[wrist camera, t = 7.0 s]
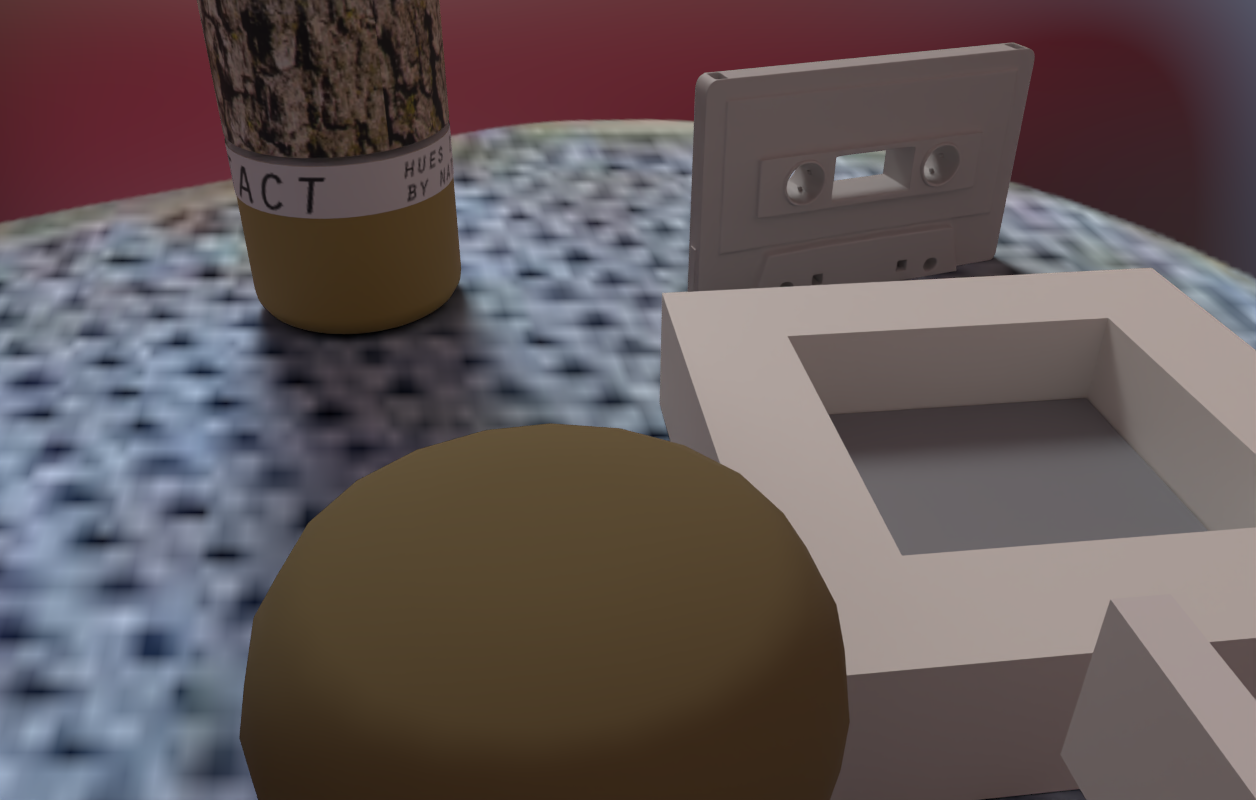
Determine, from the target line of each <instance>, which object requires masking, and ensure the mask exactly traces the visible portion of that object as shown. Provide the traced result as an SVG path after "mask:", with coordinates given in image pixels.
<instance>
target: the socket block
mask: <svg viewBox="0 0 1256 800" xmlns="http://www.w3.org/2000/svg"><path fill="white" fill-rule="evenodd" d="M660 406H661V410H662V413H663V417H664V421H665V424H666V428H667V431H668V435H669V438H670V442H674V443H678V444H681V445H685V446H687V447H689V448H691V449H693V450H695V451H697V452H699V453H700V454H702V455H704V456H706V457H708V458H710V459H712V460H714V461H716V462H718V463H720V464H722V465H724V466H726V467H728V468H730V469H732V470H734V471H736V472H738V473H740V474H741V475H742V476H743V477H744V478H746V479H747V480H748V481H749V482H750V483H751V484H752V485H753V486H754V487H755V488H756V489H758V490H759V491H760V492H761V493H762V494H763V495H764V496H765V497H766V498H767V499H769V500H770V501H771V502H772V503H773V504H774V505H775V506H776V507H777V508H778V509H780V510H781V511H782V512H783V513H784V515H785V516H786V518H787V519H788V521H789V522H790V523H791V525H792V526H793V528H794V529H795V531H796V532H797V534H798V535H799V537H800V538H801V540H802V541H803V543H804V544H805V546H806V547H807V549H808V551H809V553H810V555H811V557H812V559H813V560H814V562H815V564H816V566H817V568H818V570H819V572H820V574H821V576H822V578H823V580H824V582H825V583H826V585H827V587H828V589H829V591H830V593H831V595H832V597H833V599H834V601H835V603H836V605H837V610H838V615H839V621H840V626H841V632H842V637H843V643H844V649H845V660H846V674H847V689H848V704H849V719H850V723H849V729H848V734H847V739H846V745H845V750H844V756H843V761H842V766H841V771H840V774H839V776H838V779H837V782H836V785H835V787H834V790H833V793H832V796H831V798H830V800H980V799H990V798H999V797H1009V796H1018V795H1028V794H1037V793H1046V792H1056V791H1065V790H1075V789H1080V788H1079V786H1078V785H1077V783H1076V781H1075V779H1074V778H1073V776H1072V774H1071V772H1070V771H1069V769H1068V767H1067V765H1066V764H1065V762H1064V760H1063V758H1062V756H1061V755H1060V754H1061V751H1062V748H1063V745H1064V742H1065V739H1066V736H1067V733H1068V729H1069V726H1070V723H1071V720H1072V717H1073V714H1074V711H1075V708H1076V705H1077V701H1078V698H1079V695H1080V692H1081V689H1082V686H1083V683H1084V680H1085V676H1086V673H1087V670H1088V667H1089V664H1090V661H1091V658H1092V655H1093V651H1094V648H1095V645H1096V642H1097V639H1098V636H1099V633H1100V630H1101V626H1102V623H1103V620H1104V617H1105V614H1106V611H1107V608H1108V605H1109V602H1110V599H1116V598H1128V597H1140V596H1152V595H1164V594H1171V595H1172V596H1173V598H1174V599H1175V600H1176V601H1177V603H1178V604H1179V605H1180V606H1181V608H1182V609H1183V610H1184V611H1185V613H1186V614H1187V615H1188V616H1189V618H1190V619H1191V620H1192V621H1193V623H1194V624H1195V625H1196V626H1197V628H1198V629H1199V630H1200V631H1201V633H1202V634H1203V635H1204V636H1205V638H1206V639H1207V640H1208V641H1209V643H1210V644H1211V645H1212V646H1213V648H1214V649H1215V650H1216V651H1217V653H1218V654H1219V655H1220V656H1221V657H1222V659H1223V660H1224V661H1225V662H1226V664H1227V665H1228V666H1229V667H1230V669H1231V670H1232V671H1233V672H1234V674H1235V675H1236V676H1237V677H1238V679H1239V680H1240V681H1241V682H1242V684H1243V685H1244V686H1245V687H1246V689H1247V690H1248V691H1249V692H1250V694H1251V695H1252V696H1253V697H1254V699H1255V700H1256V350H1255V349H1253V348H1252V347H1251V346H1250V345H1248V344H1247V343H1246V342H1245V341H1243V340H1242V339H1241V338H1239V337H1238V336H1237V335H1236V334H1234V333H1233V332H1232V331H1231V330H1229V329H1228V328H1227V327H1226V326H1224V325H1223V324H1222V323H1221V322H1219V321H1218V320H1217V319H1216V318H1214V317H1213V316H1212V315H1210V314H1209V313H1208V312H1207V311H1205V310H1204V309H1203V308H1202V307H1200V306H1199V305H1198V304H1197V303H1195V302H1194V301H1193V300H1192V299H1190V298H1189V297H1188V296H1187V295H1185V294H1184V293H1183V292H1181V291H1180V290H1179V289H1178V288H1176V287H1175V286H1174V285H1173V284H1171V283H1170V282H1169V281H1168V280H1166V279H1165V278H1164V277H1163V276H1161V275H1160V274H1159V273H1158V272H1156V271H1155V270H1154V269H1152V268H1140V269H1121V270H1102V271H1082V272H1063V273H1044V274H1024V275H1005V276H985V277H966V278H947V279H927V280H908V281H889V282H869V283H850V284H831V285H811V286H792V287H773V288H753V289H734V290H715V291H695V292H676V293H662V326H661V369H660Z"/></svg>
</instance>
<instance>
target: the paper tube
mask: <svg viewBox="0 0 1256 800" xmlns="http://www.w3.org/2000/svg"><path fill="white" fill-rule="evenodd" d="M197 3H198V8H199V13H200V17H201V23H202V27H203V33H204V38H205V43H206V48H207V53H208V58H209V63H210V68H211V73H212V78H213V83H214V88H215V93H216V98H217V103H218V109H219V114H220V119H221V124H222V129H223V133H224V136H225V144H226V149H227V154H228V159H229V164H230V169H231V174H232V179H233V184H234V189H235V193H236V195H237V200H238V205H239V210H240V215H241V221H242V226H243V231H244V236H245V241H246V246H247V251H248V256H249V261H250V266H251V271H252V276H253V281H254V286H255V290H256V294H257V296H258V299H259V301H260V302H261V304H262V305H263V306H264V307H265V308H266V309H267V310H268V311H269V312H270V313H271V314H272V315H273V316H274V317H276V318H277V319H279V320H280V321H282V322H284V323H286V324H288V325H291V326H294V327H297V328H300V329H304V330H308V331H313V332H319V333H327V334H360V333H369V332H377V331H382V330H387V329H391V328H396V327H399V326H402V325H406V324H408V323H411V322H414V321H416V320H418V319H421V318H423V317H425V316H427V315H428V314H430V313H432V312H433V311H435V310H437V309H438V308H439V307H441V306H442V305H443V304H444V303H445V302H447V301H448V299H449V298H450V297H451V295H452V294H453V292H454V290H455V289H456V287H457V285H458V283H459V280H460V274H461V262H460V251H459V239H458V227H457V215H456V203H455V192H454V180H453V174H454V171H453V159H452V147H451V135H450V124H449V120H448V119H449V111H448V100H447V88H446V76H445V64H444V52H443V41H442V29H441V17H440V5H439V0H197Z"/></svg>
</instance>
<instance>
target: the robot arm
mask: <svg viewBox="0 0 1256 800" xmlns="http://www.w3.org/2000/svg"><path fill="white" fill-rule="evenodd" d="M1060 755H1061V756H1062V758H1063V760H1064V762H1065V764H1066V765H1067V767H1068V769H1069V771H1070V772H1071V774H1072V776H1073V778H1074V779H1075V781H1076V783H1077V785H1078V786H1079V788H1080V790H1081V792H1082V793H1083V795H1084V797H1085V799H1086V800H1256V700H1255V699H1254V697H1253V696H1252V695H1251V694H1250V692H1249V691H1248V690H1247V689H1246V687H1245V686H1244V685H1243V684H1242V682H1241V681H1240V680H1239V679H1238V677H1237V676H1236V675H1235V674H1234V672H1233V671H1232V670H1231V669H1230V667H1229V666H1228V665H1227V664H1226V662H1225V661H1224V660H1223V659H1222V657H1221V656H1220V655H1219V654H1218V653H1217V651H1216V650H1215V649H1214V648H1213V646H1212V645H1211V644H1210V643H1209V641H1208V640H1207V639H1206V638H1205V636H1204V635H1203V634H1202V633H1201V631H1200V630H1199V629H1198V628H1197V626H1196V625H1195V624H1194V623H1193V621H1192V620H1191V619H1190V618H1189V616H1188V615H1187V614H1186V613H1185V611H1184V610H1183V609H1182V608H1181V606H1180V605H1179V604H1178V603H1177V601H1176V600H1175V599H1174V598H1173V596H1172V595H1171V594H1164V595H1152V596H1140V597H1128V598H1116V599H1110V602H1109V605H1108V608H1107V611H1106V614H1105V617H1104V620H1103V623H1102V626H1101V630H1100V633H1099V636H1098V639H1097V642H1096V645H1095V648H1094V651H1093V655H1092V658H1091V661H1090V664H1089V667H1088V670H1087V673H1086V676H1085V680H1084V683H1083V686H1082V689H1081V692H1080V695H1079V698H1078V701H1077V705H1076V708H1075V711H1074V714H1073V717H1072V720H1071V723H1070V726H1069V729H1068V733H1067V736H1066V739H1065V742H1064V745H1063V748H1062V751H1061V754H1060Z"/></svg>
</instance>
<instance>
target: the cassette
mask: <svg viewBox="0 0 1256 800" xmlns="http://www.w3.org/2000/svg"><path fill="white" fill-rule="evenodd" d="M1033 63H1034V52H1033V51H1032V50H1031V49H1029V48H1026V47H1023V46H1021V45H1018V44H1015V43H1004V44H994V45H984V46H974V47H964V48H953V49H943V50H933V51H923V52H913V53H903V54H893V55H883V56H873V57H862V58H852V59H842V60H832V61H821V62H811V63H801V64H791V65H781V66H771V67H762V68H751V69H740V70H730V71H720V72H710V73H704V74H703V75H701V76H700V77H699V78H698V80H697V83H696V88H695V113H694V138H693V164H692V191H691V217H690V243H689V269H688V292H695V291H715V290H734V289H753V288H773V287H792V286H811V285H831V284H850V283H869V282H889V281H900V280H906V279H912V278H917V277H923V276H929V275H935V274H941V273H946V272H952V271H957V270H956V266H958V265H964V264H969V263H975V262H981V261H987V260H991V259H992V258H993V257H994V255H995V252H996V247H997V243H998V237H999V233H1000V228H1001V223H1002V218H1003V213H1004V208H1005V203H1006V198H1007V193H1008V188H1009V183H1010V178H1011V173H1012V167H1013V163H1014V158H1015V153H1016V148H1017V143H1018V138H1019V133H1020V128H1021V123H1022V117H1023V113H1024V108H1025V103H1026V98H1027V93H1028V88H1029V83H1030V78H1031V73H1032V68H1033ZM882 150H886V155H885V163H884V170H883V174H881V175H873V176H866V177H859V178H851V179H844V180H837V181H834V173H835V164H836V157H838V156H844V155H851V154H859V153H867V152H875V151H882ZM794 170H795V172H794ZM793 172H794V174H793V175H792V177H791V178H790V176H791V174H792V173H793ZM789 178H790V179H789Z"/></svg>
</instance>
